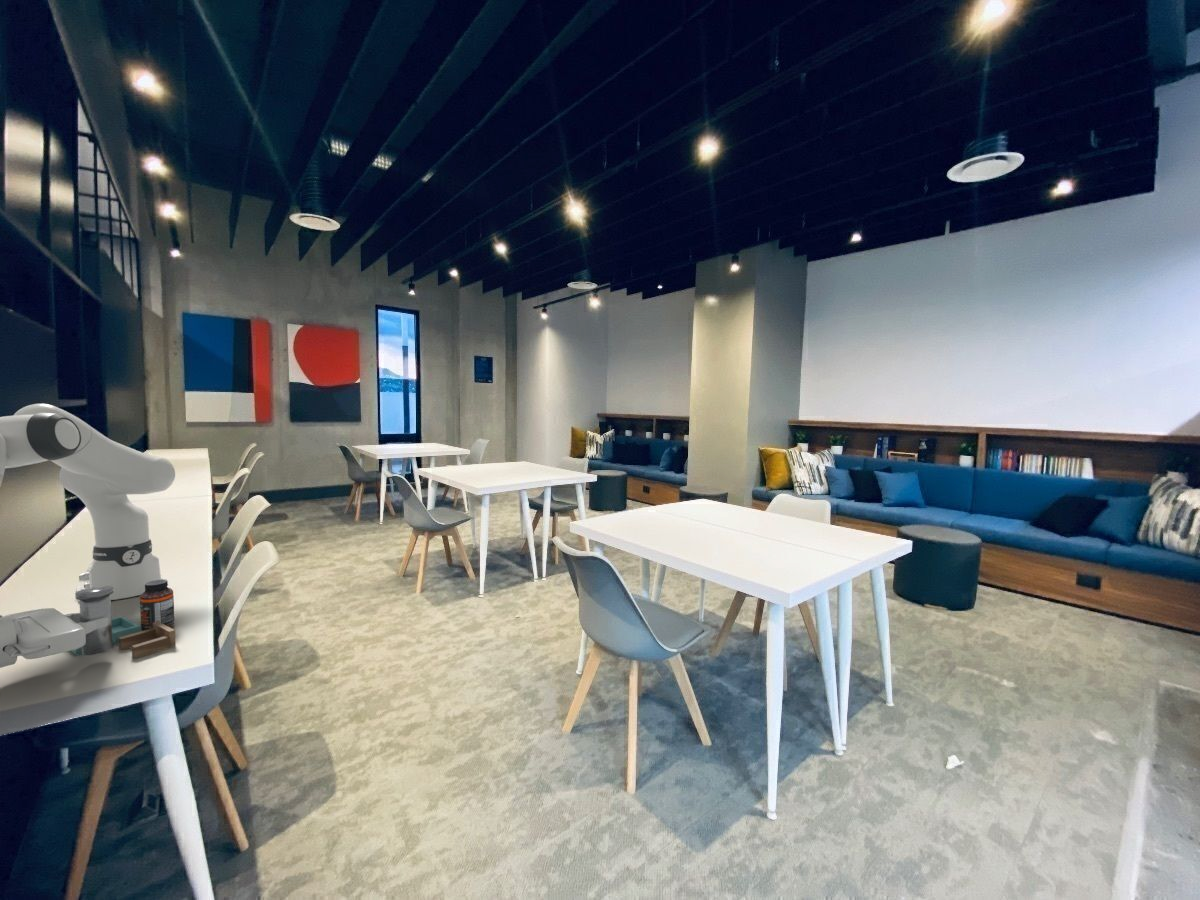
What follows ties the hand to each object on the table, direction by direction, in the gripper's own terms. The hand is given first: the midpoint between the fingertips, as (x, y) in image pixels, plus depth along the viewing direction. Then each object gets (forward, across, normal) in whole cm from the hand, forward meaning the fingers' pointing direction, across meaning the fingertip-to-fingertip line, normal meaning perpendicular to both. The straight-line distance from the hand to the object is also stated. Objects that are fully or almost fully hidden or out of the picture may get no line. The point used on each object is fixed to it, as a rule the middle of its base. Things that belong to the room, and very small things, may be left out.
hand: (102, 617), depth 102 cm
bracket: (+6, 0, +9) cm, 11 cm away
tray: (+3, +13, +9) cm, 16 cm away
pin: (-1, 0, +6) cm, 7 cm away
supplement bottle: (+12, +10, +9) cm, 18 cm away
